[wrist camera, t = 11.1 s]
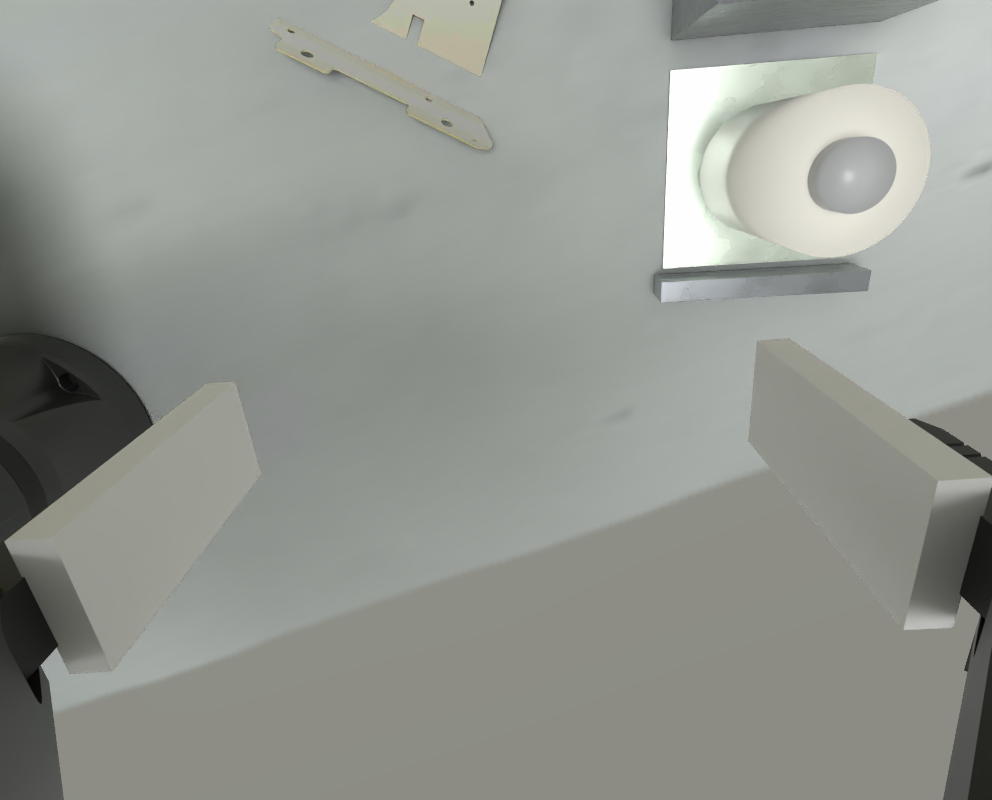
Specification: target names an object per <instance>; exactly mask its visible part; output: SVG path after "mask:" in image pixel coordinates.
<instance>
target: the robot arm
mask: <svg viewBox="0 0 992 800" xmlns="http://www.w3.org/2000/svg"><path fill="white" fill-rule="evenodd" d="M748 441H749V443H750V444H751V445H752V446H753V447H754V449H755V450H756V451H757V452H758V454H759V455H760V456H761V457H762V458H763V460H764V461H765V462H766V463H767V465H768V466H769V467H770V468H771V469H772V471H773V472H774V473H775V474H776V475H777V477H778V478H779V479H780V480H781V482H782V483H783V484H784V485H785V486H786V488H787V489H788V490H789V491H790V492H791V494H792V495H793V496H794V497H795V499H796V500H797V501H798V502H799V504H800V505H801V506H802V507H803V508H804V510H805V511H806V512H807V513H808V515H809V516H810V517H811V518H812V519H813V520H814V522H815V523H816V524H817V525H818V527H819V528H820V529H821V530H822V531H823V533H824V534H825V535H826V536H827V538H828V539H829V540H830V541H831V543H832V544H833V545H834V546H835V547H836V549H837V550H838V551H839V552H840V553H841V555H842V556H843V557H844V558H845V560H846V561H847V562H848V563H849V564H850V566H851V567H852V568H853V569H854V571H855V572H856V573H857V574H858V575H859V577H860V578H861V579H862V580H863V581H864V583H865V584H866V585H867V586H868V588H869V589H870V590H871V591H872V592H873V593H874V595H875V596H876V597H877V599H878V600H879V601H880V602H881V604H882V605H883V606H884V607H885V608H886V609H887V611H888V612H889V613H890V614H891V616H892V617H893V618H894V619H895V620H896V622H897V623H898V624H899V625H900V627H901V628H902V629H903V630H914V629H934V628H951V627H953V625H954V621H955V618H956V614H957V611H958V607H959V603H960V600H961V596H962V597H963V598H964V599H965V600H966V601H967V602H968V603H969V604H970V605H971V606H972V607H973V608H974V609H975V610H976V611H977V612H978V613H979V614H980V618H979V622H978V625H977V629H976V632H975V635H974V639H973V642H972V646H971V649H970V652H969V656H968V659H967V662H966V666H965V669H964V670H965V671H967V672H968V673H967V678H966V683H965V689H964V693H963V699H962V704H961V709H960V714H959V720H958V725H957V730H956V735H955V740H954V745H953V751H952V756H951V761H950V766H949V771H948V777H947V782H946V787H945V792H944V797H943V800H992V461H991V460H990V459H988V458H986V457H981V454H980V453H979V452H977V451H976V450H974V449H973V448H971V447H970V446H968V445H967V446H964V443H963V442H962V441H960V440H959V439H957V438H956V437H954V436H953V435H951V434H949V433H948V432H946V431H945V430H943V429H941V428H938V427H935V426H933V425H930V424H927V423H925V422H922V421H919V420H917V419H907V418H906V417H904V416H903V415H901V414H900V413H898V412H897V411H895V410H894V409H892V408H891V407H889V406H888V405H887V404H885V403H884V402H882V401H881V400H879V399H878V398H876V397H875V396H873V395H872V394H870V393H869V392H867V391H866V390H864V389H863V388H861V387H860V386H859V385H857V384H856V383H854V382H853V381H851V380H850V379H848V378H847V377H845V376H844V375H842V374H841V373H839V372H838V371H836V370H835V369H833V368H832V367H830V366H829V365H828V364H826V363H825V362H823V361H822V360H820V359H819V358H817V357H816V356H814V355H813V354H811V353H810V352H808V351H807V350H805V349H804V348H802V347H801V346H799V345H798V344H797V343H795V342H794V341H792V340H791V339H789V338H787V339H774V340H762V341H757V347H756V358H755V370H754V381H753V393H752V404H751V416H750V428H749V439H748ZM260 476H261V472H260V469H259V465H258V461H257V458H256V454H255V451H254V447H253V443H252V440H251V436H250V433H249V429H248V426H247V422H246V418H245V415H244V411H243V408H242V404H241V400H240V397H239V393H238V390H237V386H236V382H235V381H234V382H221V383H208V384H205V385H204V386H202V387H201V388H200V389H199V390H197V391H196V392H195V393H194V394H192V395H191V396H190V397H188V398H187V399H186V400H185V401H183V402H182V403H181V404H179V405H178V406H177V407H176V408H174V409H173V410H172V411H170V412H169V413H168V414H167V415H165V416H164V417H163V418H162V419H160V420H159V421H158V422H156V423H155V424H154V425H153V426H151V423H150V420H149V418H148V416H147V413H146V411H145V410H144V408H143V406H142V404H141V403H140V401H139V399H138V398H137V396H136V395H135V394H134V392H133V391H132V390H131V388H130V387H129V386H128V385H127V384H126V383H125V381H124V380H123V379H122V378H121V377H120V376H119V375H118V374H117V373H116V372H114V371H113V370H112V369H111V368H110V367H109V366H107V365H106V364H105V363H103V362H102V361H101V360H99V359H98V358H96V357H95V356H93V355H92V354H90V353H88V352H86V351H85V350H83V349H81V348H79V347H77V346H75V345H72V344H70V343H67V342H65V341H62V340H59V339H55V338H52V337H47V336H42V335H35V334H14V335H7V336H2V337H0V800H64V799H63V791H62V782H61V774H60V767H59V758H58V750H57V742H56V735H55V727H54V718H53V710H52V702H51V694H50V686H49V681H48V679H47V677H46V675H45V673H44V671H43V669H42V668H41V666H40V665H41V664H42V663H43V662H44V661H45V660H46V658H47V657H48V656H49V655H50V654H51V653H52V652H53V651H54V650H55V648H56V647H57V649H58V651H59V653H60V655H61V657H62V659H63V661H64V663H65V665H66V667H67V669H68V671H69V673H70V674H75V673H94V672H113V671H114V669H115V668H116V667H117V665H118V664H119V663H120V661H121V660H122V659H123V657H124V656H125V655H126V653H127V652H128V651H129V649H130V648H131V647H132V645H133V644H134V643H135V641H136V640H137V639H138V637H139V636H140V635H141V634H142V632H143V631H144V630H145V628H146V627H147V626H148V624H149V623H150V622H151V620H152V619H153V618H154V616H155V615H156V614H157V612H158V611H159V610H160V608H161V607H162V606H163V604H164V603H165V602H166V600H167V599H168V598H169V596H170V595H171V594H172V592H173V591H174V590H175V588H176V587H177V586H178V584H179V583H180V582H181V580H182V579H183V578H184V577H185V575H186V574H187V573H188V571H189V570H190V569H191V567H192V566H193V565H194V563H195V562H196V561H197V559H198V558H199V557H200V555H201V554H202V553H203V551H204V550H205V549H206V547H207V546H208V545H209V543H210V542H211V541H212V539H213V538H214V537H215V535H216V534H217V533H218V531H219V530H220V529H221V527H222V526H223V525H224V524H225V522H226V521H227V520H228V518H229V517H230V516H231V514H232V513H233V512H234V510H235V509H236V508H237V506H238V505H239V504H240V502H241V501H242V500H243V498H244V497H245V496H246V494H247V493H248V492H249V490H250V489H251V488H252V486H253V485H254V484H255V482H256V481H257V480H258V478H259V477H260Z"/></svg>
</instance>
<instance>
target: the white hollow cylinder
mask: <svg viewBox="0 0 992 800" xmlns="http://www.w3.org/2000/svg"><path fill="white" fill-rule="evenodd" d="M930 159H931V146H930V139H929V134H928V130H927V127H926V124H925V122H924V120H923V118H922V116H921V114H920V113H919V111H918V110H917V109H916V107H915V106H914V105H913V104H912V103H911V102H910V101H909V100H908V99H907V98H905V97H904V96H903V95H901V94H900V93H898V92H896V91H894V90H892V89H889V88H886V87H883V86H880V85H873V84H854V85H847V86H842V87H837V88H833V89H828V90H824V91H819V92H815V93H810V94H806V95H801V96H796V97H792V98H787V99H783V100H778V101H774V102H769V103H765V104H760V105H756V106H753V107H750V108H747V109H745V110H743V111H741V112H739V113H737V114H736V115H734V116H733V117H731V118H730V119H729V120H727V121H726V122H725V123H724V124H723V125H722V126H721V127H720V128H719V130H718V131H717V132H716V133H715V135H714V136H713V138H712V139H711V141H710V142H709V144H708V146H707V148H706V151H705V153H704V156H703V159H702V163H701V169H700V187H701V192H702V196H703V199H704V201H705V203H706V205H707V207H708V209H709V210H710V212H711V213H712V214H713V215H714V216H715V217H716V218H717V219H718V220H719V221H720V222H722V223H724V224H725V225H727V226H729V227H731V228H734V229H736V230H739V231H742V232H745V233H747V234H750V235H753V236H756V237H758V238H761V239H764V240H767V241H769V242H772V243H775V244H778V245H780V246H783V247H786V248H789V249H792V250H794V251H797V252H800V253H803V254H806V255H810V256H815V257H829V258H832V257H840V256H845V255H850V254H853V253H856V252H859V251H862V250H864V249H866V248H868V247H870V246H872V245H874V244H876V243H877V242H879V241H880V240H882V239H883V238H885V237H886V236H887V235H888V234H890V233H891V232H892V231H893V230H894V229H895V228H896V227H897V226H899V225H900V224H901V223H902V221H903V220H904V219H905V218H906V217H907V215H908V214H909V213H910V211H911V210H912V208H913V207H914V205H915V204H916V202H917V200H918V198H919V196H920V195H921V193H922V190H923V188H924V185H925V183H926V179H927V176H928V172H929V166H930Z"/></svg>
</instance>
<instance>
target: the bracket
mask: <svg viewBox="0 0 992 800" xmlns="http://www.w3.org/2000/svg"><path fill="white" fill-rule="evenodd" d="M470 1H471V0H394V1H393V3H392V4H391V5H390V7H389V8H388V9H387V10H386V11H385V12H384V13H383V14H382V15H381V16H379V17H378V18H376V19H374V20H372V21H370V22H372V23H374V24H376V25H378V26H380V27H382V28H384V29H386V30H388V31H390V32H392V33H394V34H396V35H398V36H400V37H402V38H404V39H406V38H407V35H408V32H409V28H410V24H411V21H412V17H413V15H415V16H417V17H419V18H421V19H423V20H424V23H423V27H422V30H421V34H420V38H419V41H418V46H420V47H422V48H424V49H426V50H428V51H430V52H432V53H434V54H436V55H438V56H440V57H442V58H444V59H446V60H448V61H450V62H452V63H454V64H456V65H458V66H460V67H462V68H464V69H466V70H467V71H469V72H471V73H473V74H475V75H477V76H479V77H481V75H482V71H483V68H484V64H485V61H486V57H487V53H488V50H489V46H490V42H491V39H492V35H493V31H494V28H495V24H496V21H497V17H498V13H499V10H500V6H501V2H502V0H472V1H474V5H473V6H471V5H470ZM269 29H270V31H272V32H273V33H275V34H277V35H279V36H280V38H281V40H280V41H279V42H277V43H276V44H275V49H276V50H277V51H279V52H281V53H283V54H285V55H287V56H289V57H291V58H293V59H295V60H297V61H299V62H301V63H303V64H305V65H307V66H309V67H312V68H314V69H316V70H318V71H320V72H322V73H325V74H328V73H330V72H331V71H332V70H337V71H339V72H341V73H343V74H345V75H347V76H349V77H351V78H354V79H356V80H358V81H360V82H362V83H364V84H366V85H368V86H370V87H372V88H374V89H376V90H378V91H380V92H382V93H384V94H386V95H388V96H390V97H392V98H394V99H396V100H398V101H400V102H402V103H404V104H406V105H408V108H407V110H406V113H407V114H408V115H409V116H411V117H413V118H415V119H417V120H419V121H421V122H423V123H425V124H427V125H429V126H431V127H433V128H436V129H438V130H440V131H442V132H444V133H446V134H448V135H450V136H452V137H454V138H456V139H458V140H460V141H462V142H464V143H466V144H468V145H470V146H472V147H474V148H477V149H484V150H489V149H491V148H492V145H493V143H492V141H491V139H490V136H489V134H488V132H487V130H486V128H485V126H484V123H483V121H482V119H481V118H480V117H478V116H476V115H474V114H472V113H470V112H468V111H466V110H464V109H462V108H460V107H458V106H456V105H454V104H452V103H450V102H448V101H446V100H444V99H442V98H440V97H438V96H436V95H434V94H432V93H430V92H428V91H426V90H424V89H422V88H420V87H418V86H416V85H414V84H412V83H410V82H408V81H406V80H404V79H402V78H400V77H398V76H396V75H394V74H392V73H390V72H388V71H386V70H384V69H382V68H380V67H378V66H376V65H374V64H372V63H370V62H368V61H366V60H364V59H362V58H360V57H358V56H356V55H354V54H352V53H350V52H348V51H346V50H344V49H342V48H340V47H338V46H336V45H334V44H332V43H330V42H328V41H326V40H324V39H322V38H320V37H318V36H316V35H314V34H312V33H310V32H308V31H306V30H304V29H302V28H300V27H298V26H296V25H294V24H292V23H290V22H288V21H286V20H284V19H282V18H280V17H279V18H278V19H277V20H276V21H274V22H273V23H272V24H271V25H270V26H269ZM289 30H291V31H294V32H295V33H290V32H288V31H289ZM301 52H309V53H311V54H312V55H313V57H311V58H309V57H305V56H303V55H302V54H301ZM426 99H430V100H432V102H429V101H427V100H426ZM443 120H445V121H448V122H450V123H451V124H452V126H451V127H447V126H445V125H443V124H442V122H441V121H443ZM474 141H476V142H474Z"/></svg>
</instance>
